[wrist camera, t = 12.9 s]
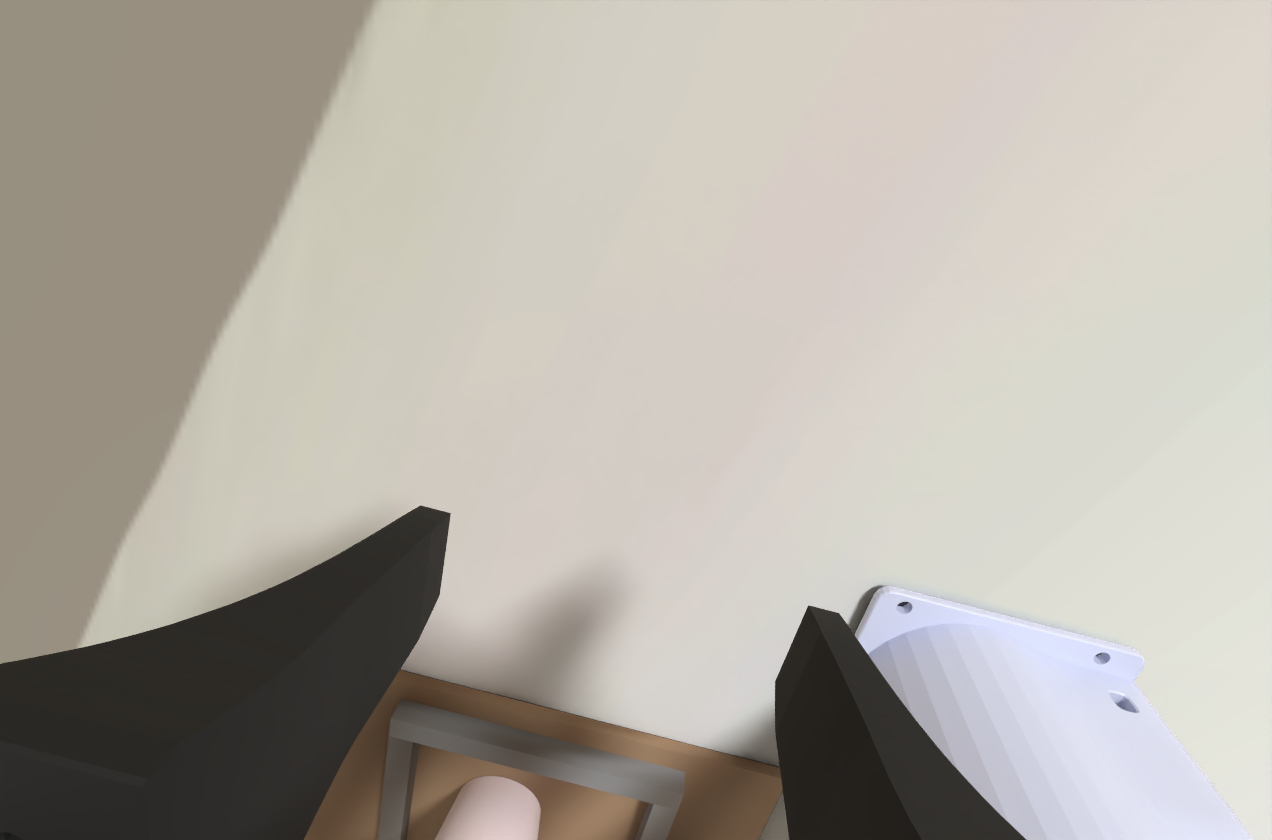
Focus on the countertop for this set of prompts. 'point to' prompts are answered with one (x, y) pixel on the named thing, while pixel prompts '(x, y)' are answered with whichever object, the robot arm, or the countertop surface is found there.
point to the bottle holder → (535, 772)
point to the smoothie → (492, 812)
